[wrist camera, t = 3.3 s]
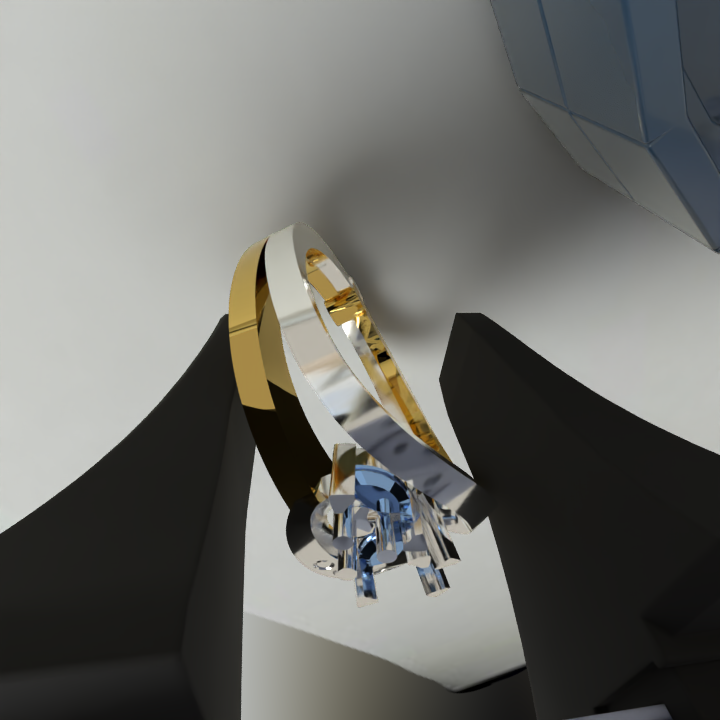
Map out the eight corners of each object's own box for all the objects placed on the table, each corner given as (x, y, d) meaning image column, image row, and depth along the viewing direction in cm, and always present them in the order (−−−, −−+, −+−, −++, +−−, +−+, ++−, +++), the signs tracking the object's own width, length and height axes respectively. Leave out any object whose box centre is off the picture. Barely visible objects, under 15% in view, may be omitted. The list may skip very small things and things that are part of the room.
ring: (215, 207, 11) (141, 501, 5) (337, 140, 10) (430, 375, 4) (345, 392, 15) (394, 671, 9) (436, 352, 15) (553, 619, 9)
